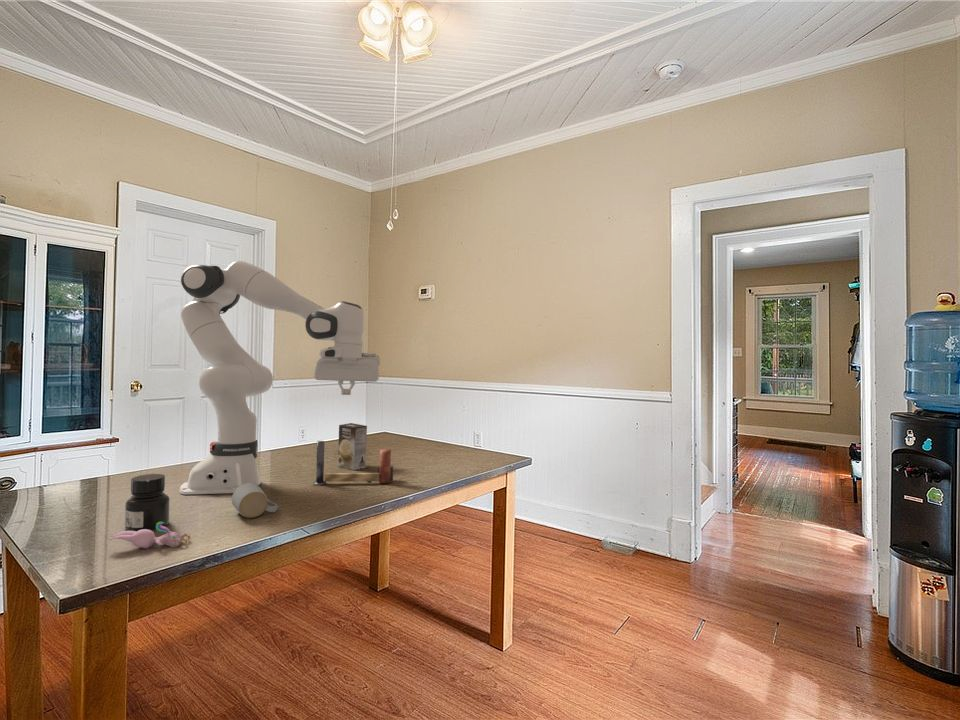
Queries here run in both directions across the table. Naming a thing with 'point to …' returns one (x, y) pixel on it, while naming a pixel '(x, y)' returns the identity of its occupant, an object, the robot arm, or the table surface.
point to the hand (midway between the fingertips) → (345, 394)
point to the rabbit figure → (152, 537)
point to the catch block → (390, 472)
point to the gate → (369, 477)
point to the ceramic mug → (251, 501)
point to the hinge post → (320, 464)
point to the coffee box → (352, 446)
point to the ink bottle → (147, 503)
